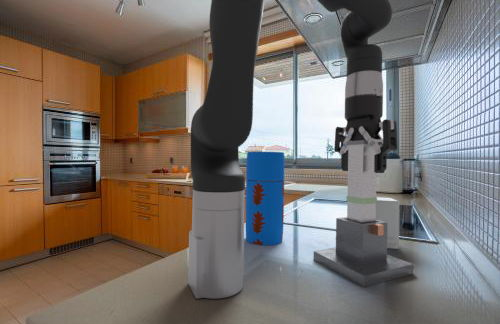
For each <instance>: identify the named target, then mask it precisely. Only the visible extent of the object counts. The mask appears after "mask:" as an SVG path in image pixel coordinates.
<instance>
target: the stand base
mask: <svg viewBox="0 0 500 324" xmlns="http://www.w3.org/2000/svg"><path fill="white" fill-rule="evenodd" d="M335 220H336V221H335V222H336V223H335V247H330V248H324V249H319V250H318V249H317V250H313V259H312V260H313V261H315V262H317V263H318V264H321V265H322V266H325V267H326V268H328V269H329V270H331V271H333V272H335V273H337V274H339V275H340V276H343V277H345V278H347V280H350V281H352V282H354V283H356V284H358V285H359V286H361V287H363V288H366V287H370V286H373V285H377V284H382V283H385V282H389V281H392V280H396V279H399V278H403V277H406V276H410V275H413V274H414V263H411V262H409V261H406V260H403V259H400V258H398V257H395V256H394V255H393V256H392V255H390V254H388V248H387V223H388V222H384V221H379V220H376V222H375V223H367V224H361V223H357V222H353V221H350V220H347V216H344V217H336V219H335Z"/></svg>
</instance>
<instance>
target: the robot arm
mask: <svg viewBox="0 0 500 324" xmlns="http://www.w3.org/2000/svg"><path fill="white" fill-rule="evenodd" d="M316 1H317V2H318V3H319V4H320V5H322V7H323V8H324V9H326V11H328V12H330V13H336V12H337V11H339V10H342V9H343V10H348V11H349V12H348V13H346V15H345V16H344V17H343V19H342V22H341V26H340V33H339V34H340V38H341V39H340V40H341V43H342V46H343V50H344V54H345V58H346V79H345V85H344V87H345V88H344V119H345V120H346V125H345V126H344V127H343V126H336V127H335V131H334V132H335V134H334V149H333V150H334V152H335V153H339V154H340V157H341V160H340V161H341V162H340V163H341V164H340V167H341V169H342V170H341V171H343V172H348V145H346V142H347V141H359V140H366V141H367V143H368V144H369V145H370V146H372V148H373V149H374V151H375V152H376V153H377V154H375V155H374V172H375V173H376V174H384V173H385V171H386V170H387V161H388V160H387V159H388V158H387V157H388V154H389V153H391V152H395V151H398V134H397V133H398V131H397V121H396V120H395V119H394V120H393V119H383V120H381V118H383V115H384V114H383V112H384V109H383V108H384V107H383V106H384V82H383V81H384V80H383V51H382V48H381V47H380V46H379V45H377V44H371V43H368V40H369V38H371V37H373V36H374V35H376V34H377V33H379V32H380V31H382V30H384V29H385V28H386V27H387V26H388V25H389V24H390V22H391V20H392V17H393V10H392V6H391V3H390V1H389V0H316ZM264 7H265V0H211V3H210V9H209V10H210V11H209V36H210V43H211V52H212V53H211V56H212V60H211V61H212V62H211V70H210V75H209V81H208V84H207V85H208V86H207V88H206V94H205V97H204V100H203V103H202V104H201V106H200V107H198V108H197V110H196V111H195V113H194V114H193V116H192V119H191V124H190V171H191V178H192V211H191V212H192V213H191V215H192V217H191V220H192V221H191V222H192V223H191V230H188V231H189V232H188V269H187V272H188V274H187V275H188V277H187V283H188V285H189V287H190V289H191V291H192V293H193V295H194V297H195V299H203V298H204V299H214V300H215V299H225V298H229V297H233V296H235V295H236V294H238V293H239V292H241V291H242V289H244V288H243V287H244V276H245V271H244V267H245V265H244V259H245V258H244V256H245V255H244V254H245V206H246V175H245V174H244V173H243V170H242V169H241V167H240V166H241V165H240V161H239V160H240V159H239V147H241V146H242V145H244V143H245V142H246V141H247V140H248V138H249V136H250V135H251V131H252V127H253V116H254V112H253V110H254V82H255V81H254V80H255V79H254V77H255V67H256V61H257V56H258V48H259V42H260V41H259V40H260V35H261V28H262V22H263V14H264ZM381 131H382V135H380V132H381Z"/></svg>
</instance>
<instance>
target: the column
mask: <svg viewBox="0 0 500 324" xmlns="http://www.w3.org/2000/svg"><path fill="white" fill-rule="evenodd" d="M346 145H348V171H347V195H346V198H345V199H346V201H345V202H347V206H346V207H347V208H346V210H347V215H346V217H347V220H350V221H353V222H357V223H361V224H367V223H375V222H376V203H377V198H376V197H377V173H375V172H374V155H375V154H377V153H376V152H375V151H374V149H373V148H372V146H370V145H369V144H368V143H367V141H366V140H359V141H347V142H346Z"/></svg>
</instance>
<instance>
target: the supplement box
mask: <svg viewBox="0 0 500 324" xmlns="http://www.w3.org/2000/svg"><path fill="white" fill-rule="evenodd" d="M376 198H377V203H376V220H379V221H384V222H388V223H387V249H395V250H399V249H400V204H401V203H400V200H396V199H394V198H391V197H377V196H376Z"/></svg>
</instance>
